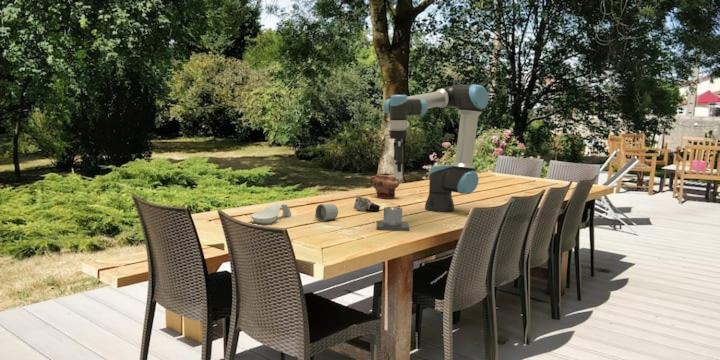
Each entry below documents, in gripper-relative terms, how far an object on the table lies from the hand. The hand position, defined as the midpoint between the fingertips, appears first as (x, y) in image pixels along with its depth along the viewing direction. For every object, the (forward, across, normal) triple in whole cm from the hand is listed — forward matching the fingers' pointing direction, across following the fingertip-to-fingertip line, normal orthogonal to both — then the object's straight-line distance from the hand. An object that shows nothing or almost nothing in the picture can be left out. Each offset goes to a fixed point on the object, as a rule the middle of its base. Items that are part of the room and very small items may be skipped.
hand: (397, 176), depth 256 cm
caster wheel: (+22, -28, -13) cm, 38 cm away
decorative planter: (+23, -71, -3) cm, 75 cm away
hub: (+19, +11, -3) cm, 22 cm away
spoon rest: (+20, +4, -57) cm, 60 cm away
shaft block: (+21, +11, -3) cm, 24 cm away
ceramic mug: (+20, -2, -34) cm, 39 cm away
